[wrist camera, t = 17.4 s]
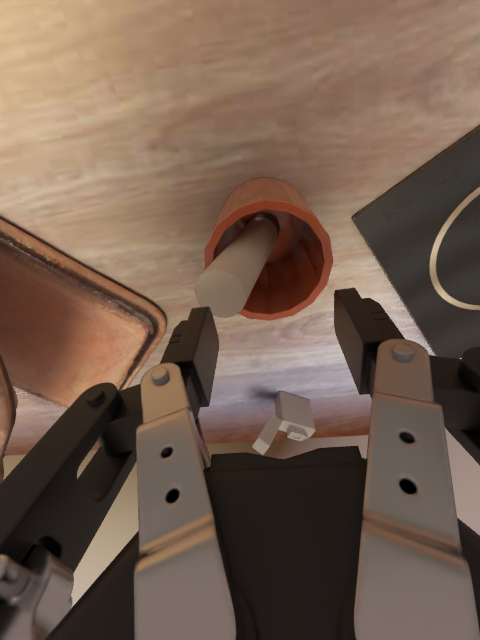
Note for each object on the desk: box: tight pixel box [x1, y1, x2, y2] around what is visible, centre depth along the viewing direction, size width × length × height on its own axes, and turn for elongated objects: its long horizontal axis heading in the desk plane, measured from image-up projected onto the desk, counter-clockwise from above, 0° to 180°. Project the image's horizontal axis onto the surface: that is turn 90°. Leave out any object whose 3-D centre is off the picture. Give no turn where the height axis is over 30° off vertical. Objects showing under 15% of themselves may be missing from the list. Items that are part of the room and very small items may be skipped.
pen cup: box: [205, 178, 333, 320], centre depth 21 cm, size 7×7×9 cm
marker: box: [195, 213, 280, 317], centre depth 19 cm, size 3×3×12 cm
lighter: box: [253, 391, 316, 455], centre depth 32 cm, size 7×2×8 cm, turn 69°
